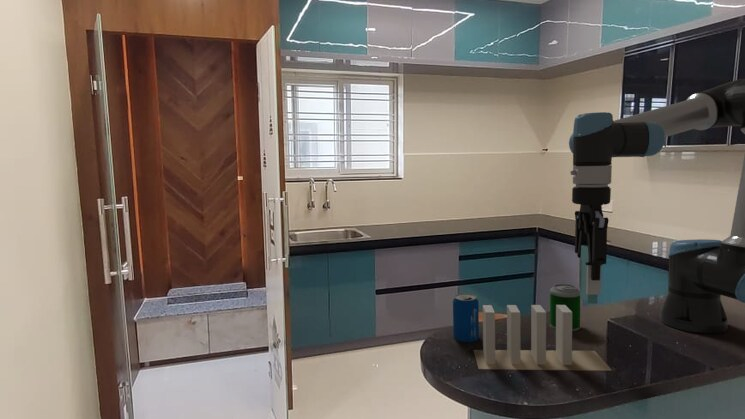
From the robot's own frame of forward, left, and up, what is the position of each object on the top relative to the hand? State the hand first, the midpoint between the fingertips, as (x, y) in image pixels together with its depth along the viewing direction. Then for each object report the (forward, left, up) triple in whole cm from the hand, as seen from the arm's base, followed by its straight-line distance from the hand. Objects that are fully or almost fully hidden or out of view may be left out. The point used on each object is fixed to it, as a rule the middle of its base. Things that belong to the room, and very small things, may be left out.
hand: (588, 290), depth 101 cm
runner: (+11, 0, -17) cm, 20 cm away
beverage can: (+26, -13, -17) cm, 34 cm away
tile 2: (+5, 0, -16) cm, 17 cm away
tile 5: (+22, 0, -16) cm, 27 cm away
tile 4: (+16, 0, -16) cm, 23 cm away
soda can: (-1, -21, -17) cm, 27 cm away
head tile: (0, 0, -2) cm, 2 cm away
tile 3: (+11, 0, -16) cm, 19 cm away
